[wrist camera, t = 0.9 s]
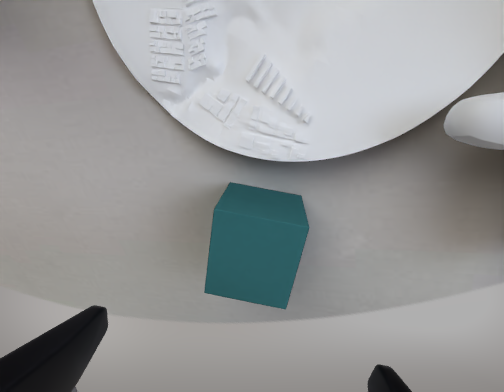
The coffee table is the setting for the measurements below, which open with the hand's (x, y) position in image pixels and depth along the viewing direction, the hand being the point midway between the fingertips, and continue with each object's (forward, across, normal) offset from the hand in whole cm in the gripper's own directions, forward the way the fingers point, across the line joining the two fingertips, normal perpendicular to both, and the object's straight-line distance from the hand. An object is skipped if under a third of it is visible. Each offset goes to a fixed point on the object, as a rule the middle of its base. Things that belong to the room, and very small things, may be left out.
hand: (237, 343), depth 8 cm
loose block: (+8, 0, 0) cm, 8 cm away
